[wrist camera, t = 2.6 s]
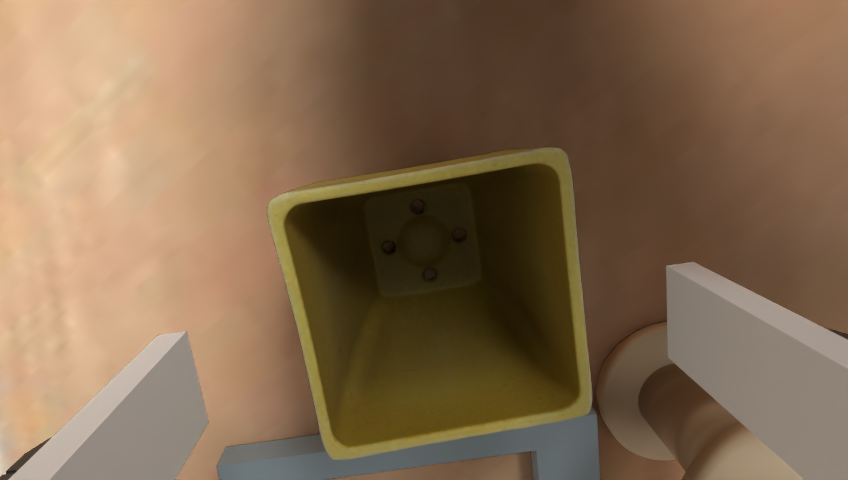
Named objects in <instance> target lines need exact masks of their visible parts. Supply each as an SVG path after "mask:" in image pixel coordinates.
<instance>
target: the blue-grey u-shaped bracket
mask: <svg viewBox="0 0 848 480" xmlns="http://www.w3.org/2000/svg"><path fill="white" fill-rule="evenodd" d="M529 451H531V460H532V472H533V480H600V464H599V445H598V425H597V413H596V412H595V410H594V409H593V407H592V406H591V409H590V412H589V413H588V414H587V415H585V416H581V417H576V418H573V419H568V420H564V421H560V422H555V423H548V424H542V425H537V426H532V427H527V428H520V429H512V430H506V431H501V432H495V433H490V434H485V435H479V436H471V437H466V438H461V439H456V440H450V441H445V442H439V443H433V444H427V445H422V446H416V447H411V448H407V449H402V450H397V451H392V452H385V453H380V454H375V455H370V456H365V457H359V458H354V459H347V460H333V459H331V458H330V457H329V455H328V453H327V451H326V450H325V447H324V445H323V442H322V438H321V435H320V434H318V435H310V436H303V437H296V438H288V439H281V440H274V441H266V442H259V443H252V444H245V445H237V446H230V447H226V449H225V451H224V453H223V455H222V457H221V459H220V461H219V463H218V465H217V470H218V474H219V478H220V480H327V479H334V478H341V477H348V476H355V475H363V474H370V473H377V472H384V471H391V470H399V469H406V468H413V467H420V466H428V465H435V464H442V463H449V462H456V461H464V460H471V459H478V458H485V457H493V456H500V455H507V454H514V453H521V452H529Z"/></svg>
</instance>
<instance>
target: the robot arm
mask: <svg viewBox="0 0 848 480" xmlns="http://www.w3.org/2000/svg"><path fill="white" fill-rule="evenodd" d="M666 283H667V337H668V358H669V359H670V360H671V361H673V362H674V363H675V364H676V365H677V366H678V367H679V368H680V369H682V370H683V371H684V372H685V373H686V374H687V375H688V376H689V377H690V378H692V379H693V380H694V381H695V382H696V383H697V384H698V385H699V386H700V387H702V388H703V389H704V390H705V391H706V392H707V393H708V394H709V395H711V396H712V397H713V398H714V399H715V400H716V401H717V402H718V403H719V404H721V405H722V406H723V407H724V408H725V409H726V410H727V411H728V412H729V413H731V414H732V415H733V416H734V417H735V418H736V419H737V420H738V421H739V422H741V423H742V424H743V425H744V426H745V427H746V428H747V429H748V430H750V431H751V432H752V433H753V434H754V435H755V436H756V437H757V438H758V439H760V440H761V441H762V442H763V443H764V444H765V445H766V446H767V447H768V448H770V449H771V450H772V451H773V452H774V453H775V454H776V455H777V456H778V457H780V458H781V459H782V460H783V461H784V462H785V463H786V464H787V465H789V466H790V467H791V468H792V469H793V470H794V471H795V472H796V473H797V474H799V475H800V476H801V477H802V478H803V479H804V480H848V334H845V333H842V332H838V331H835V330H831V329H828V328H824V327H822V326H820V325H818V324H816V323H814V322H812V321H810V320H808V319H806V318H804V317H802V316H800V315H798V314H796V313H794V312H792V311H790V310H788V309H786V308H784V307H782V306H780V305H778V304H776V303H774V302H772V301H770V300H768V299H766V298H764V297H762V296H760V295H758V294H756V293H754V292H752V291H750V290H748V289H746V288H744V287H742V286H740V285H738V284H736V283H734V282H732V281H730V280H729V279H727V278H725V277H723V276H721V275H719V274H717V273H715V272H713V271H711V270H709V269H707V268H705V267H703V266H701V265H699V264H697V263H695V262H688V263H681V264H674V265H666ZM208 423H209V421H208V417H207V412H206V408H205V404H204V400H203V396H202V392H201V388H200V384H199V380H198V376H197V371H196V367H195V363H194V359H193V355H192V351H191V347H190V343H189V339H188V334H187V331H184V332H176V333H169V334H162V335H157V336H156V337H155V338H154V339H153V340H152V341H151V342H150V343H149V344H148V345H147V346H146V347H145V348H144V349H143V350H142V351H141V352H140V353H139V354H138V355H137V356H136V357H135V358H134V359H133V360H132V361H131V362H130V363H128V364H127V365H126V366H125V367H124V368H123V369H122V370H121V371H120V372H119V373H118V374H117V375H116V376H115V377H114V378H113V379H112V380H111V381H110V382H109V383H108V384H107V385H106V386H105V387H104V388H103V389H102V390H101V391H100V392H98V393H97V394H96V395H95V396H94V397H93V398H92V399H91V400H90V401H89V402H88V403H87V404H86V405H85V406H84V407H83V408H82V409H81V410H80V411H79V412H78V413H77V414H76V415H75V416H74V417H73V418H72V419H71V420H70V421H68V422H67V423H66V424H65V425H64V426H63V427H62V428H61V429H60V430H59V431H58V432H57V433H56V434H55V435H54V436H53V437H51V438H49V439H48V440H46V441H44V442H43V443H41V444H40V445H38V446H37V447H35V448H33V449H32V450H30V451H29V452H27V453H25V454H24V455H23V456H22V457H21V458H20V459H19V460H18V461H17V462H16V463H15V464H14V465H12V466H11V467H10V468H9V469H8V470H7V471H6V474H5V475H2V476H1V477H0V480H175V479H176V478H177V476H178V474H179V472H180V471H181V469H182V467H183V466H184V464H185V462H186V460H187V459H188V457H189V455H190V454H191V452H192V450H193V448H194V447H195V445H196V443H197V442H198V440H199V438H200V436H201V435H202V433H203V431H204V430H205V428H206V426H207V424H208Z"/></svg>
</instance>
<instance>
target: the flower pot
mask: <svg viewBox="0 0 848 480" xmlns="http://www.w3.org/2000/svg"><path fill="white" fill-rule="evenodd" d="M417 200H420V201H422V202H423V203H424V210H423V211H422V212H420V213H417V212H414V211H413V209H412V204H413V202H415V201H417ZM267 216H268V221H269V225H270V229H271V233H272V237H273V241H274V245H275V248H276V252H277V255H278V259H279V262H280V266H281V269H282V273H283V276H284V280H285V284H286V288H287V292H288V296H289V299H290V303H291V307H292V310H293V314H294V317H295V322H296V325H297V329H298V333H299V338H300V342H301V347H302V351H303V355H304V360H305V365H306V369H307V374H308V378H309V383H310V388H311V392H312V397H313V401H314V406H315V410H316V415H317V420H318V425H319V430H320V435H321V438H322V442H323V445H324V447H325V450H326V451H327V453H328V455H329V457H330V458H331V459H333V460H347V459H354V458H359V457H365V456H370V455H375V454H380V453H385V452H392V451H397V450H402V449H407V448H411V447H416V446H422V445H427V444H433V443H439V442H445V441H450V440H456V439H461V438H466V437H471V436H479V435H485V434H490V433H495V432H501V431H506V430H512V429H520V428H527V427H532V426H537V425H542V424H548V423H555V422H560V421H564V420H568V419H573V418H576V417H581V416H585V415H587V414H588V413H589V412H590V409H591V405H592V384H591V373H590V364H589V353H588V343H587V334H586V324H585V314H584V301H583V291H582V282H581V273H580V262H579V249H578V238H577V229H576V213H575V200H574V190H573V180H572V174H571V168H570V163H569V159H568V156H567V154H566V153H565V151H564V150H563V149H560V148H556V147H544V148H532V149H513V150H502V151H497V152H492V153H487V154H482V155H477V156H471V157H466V158H460V159H455V160H450V161H444V162H439V163H433V164H427V165H421V166H415V167H409V168H403V169H397V170H391V171H384V172H378V173H372V174H366V175H359V176H353V177H346V178H340V179H333V180H327V181H321V182H316V183H313V184H310V185H307V186H303V187H300V188H297V189H294V190H291V191H288V192H285V193H282V194H280V195H278V196H276V197H275V198H273V199H272V200H271V201H270V202H269V204H268V207H267ZM456 229H462V230H463V231H464V232H465V237H464V239H462V240H460V241H457V240H455V239H454V238H453V232H454V231H455V230H456ZM386 241H392V242H393V243H394V244H395V250H394V251H393V252H390V253H388V252H385V251H384V249H383V244H384V243H385V242H386ZM428 268H431V269H433V270H434V271H435V273H436V274H435V277H434V278H433V279H430V280H428V279H426V278H425V277H424V276H423V274H424V271H425V270H426V269H428Z"/></svg>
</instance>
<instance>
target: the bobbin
mask: <svg viewBox="0 0 848 480" xmlns="http://www.w3.org/2000/svg"><path fill="white" fill-rule="evenodd" d="M596 399H597V406H598V409H599V412H600V415H601V417H602V419H603V421H604V422H605V424H606V425H607V427H608V428H609V430H610V431H611V433H612V435H613V436H614V438H615V439H616V440H617V441H618V442H619V443H620V444H621V445H622V446H623V447H625V448H626V449H627V450H629V451H630V452H632V453H634V454H636V455H638V456H641V457H644V458H648V459H652V460H662V461H669V460H677V461H678V462H679V464H680V465H681V466H682V467H683V469H684V470H685V471H686V473H685V475H684V476H683V478H682V480H804V479H803V478H802V477H801V476H800V475H799V474H797V473H796V472H795V471H794V470H793V469H792V468H791V467H790V466H789V465H787V464H786V463H785V462H784V461H783V460H782V459H781V458H780V457H778V456H777V455H776V454H775V453H774V452H773V451H772V450H771V449H770V448H768V447H767V446H766V445H765V444H764V443H763V442H762V441H761V440H760V439H758V438H757V437H756V436H755V435H754V434H753V433H752V432H751V431H750V430H748V429H747V428H746V427H745V426H744V425H743V424H742V423H741V422H739V421H738V420H737V419H736V418H735V417H734V416H733V415H732V414H731V413H729V412H728V411H727V410H726V409H725V408H724V407H723V406H722V405H721V404H719V403H718V402H717V401H716V400H715V399H714V398H713V397H712V396H711V395H709V394H708V393H707V392H706V391H705V390H704V389H703V388H702V387H700V386H699V385H698V384H697V383H696V382H695V381H694V380H693V379H692V378H690V377H689V376H688V375H687V374H686V373H685V372H684V371H683V370H682V369H680V368H679V367H678V366H677V365H676V364H675V363H674V362H673V361H671V360H670V359H669V358H668V337H667V322H662V323H657V324H653V325H650V326H647V327H644V328H642V329H640V330H638V331H636V332H634V333H633V334H631V335H629V336H628V337H627V338H625V339H624V340H623V341H621V342H620V343H619V344H618V345H617V346H616V347H615V348H614V350H613V351H612V352H611V353H610V354H609V356H608V357H607V359H606V361H605V362H604V364H603V366H602V369H601V371H600V374H599V377H598V381H597V387H596Z"/></svg>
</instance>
